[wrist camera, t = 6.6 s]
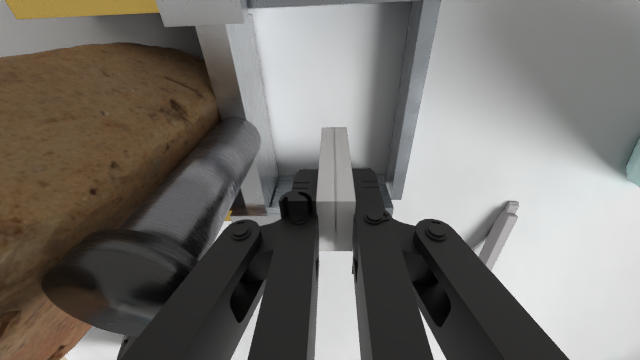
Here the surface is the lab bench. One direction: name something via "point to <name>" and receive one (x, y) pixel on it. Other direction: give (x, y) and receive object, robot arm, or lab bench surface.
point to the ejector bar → (181, 188)
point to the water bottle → (634, 165)
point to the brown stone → (83, 165)
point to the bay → (56, 3)
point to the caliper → (499, 234)
